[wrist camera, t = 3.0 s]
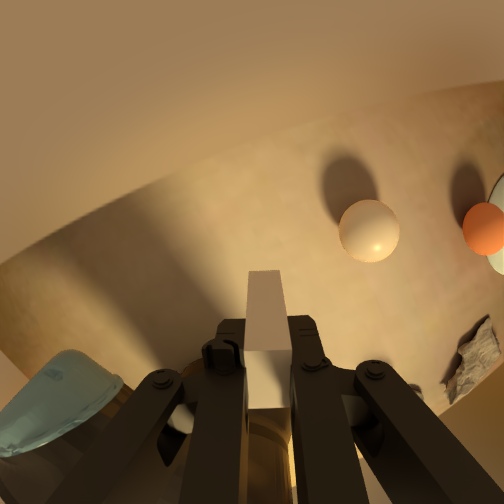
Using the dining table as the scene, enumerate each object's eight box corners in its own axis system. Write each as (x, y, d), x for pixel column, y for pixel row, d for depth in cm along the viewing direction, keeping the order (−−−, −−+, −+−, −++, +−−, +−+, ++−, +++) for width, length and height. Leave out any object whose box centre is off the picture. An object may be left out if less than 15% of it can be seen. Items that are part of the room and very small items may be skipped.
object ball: (465, 255, 30) (492, 273, 25) (446, 219, 29) (475, 233, 24) (494, 225, 29) (523, 239, 24) (477, 187, 28) (508, 197, 22)
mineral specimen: (423, 373, 37) (432, 393, 33) (485, 312, 33) (500, 330, 29) (444, 389, 38) (453, 408, 34) (501, 334, 34) (515, 351, 30)
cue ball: (354, 261, 31) (372, 284, 25) (321, 220, 29) (334, 237, 24) (395, 225, 29) (420, 242, 24) (364, 182, 28) (386, 192, 23)
